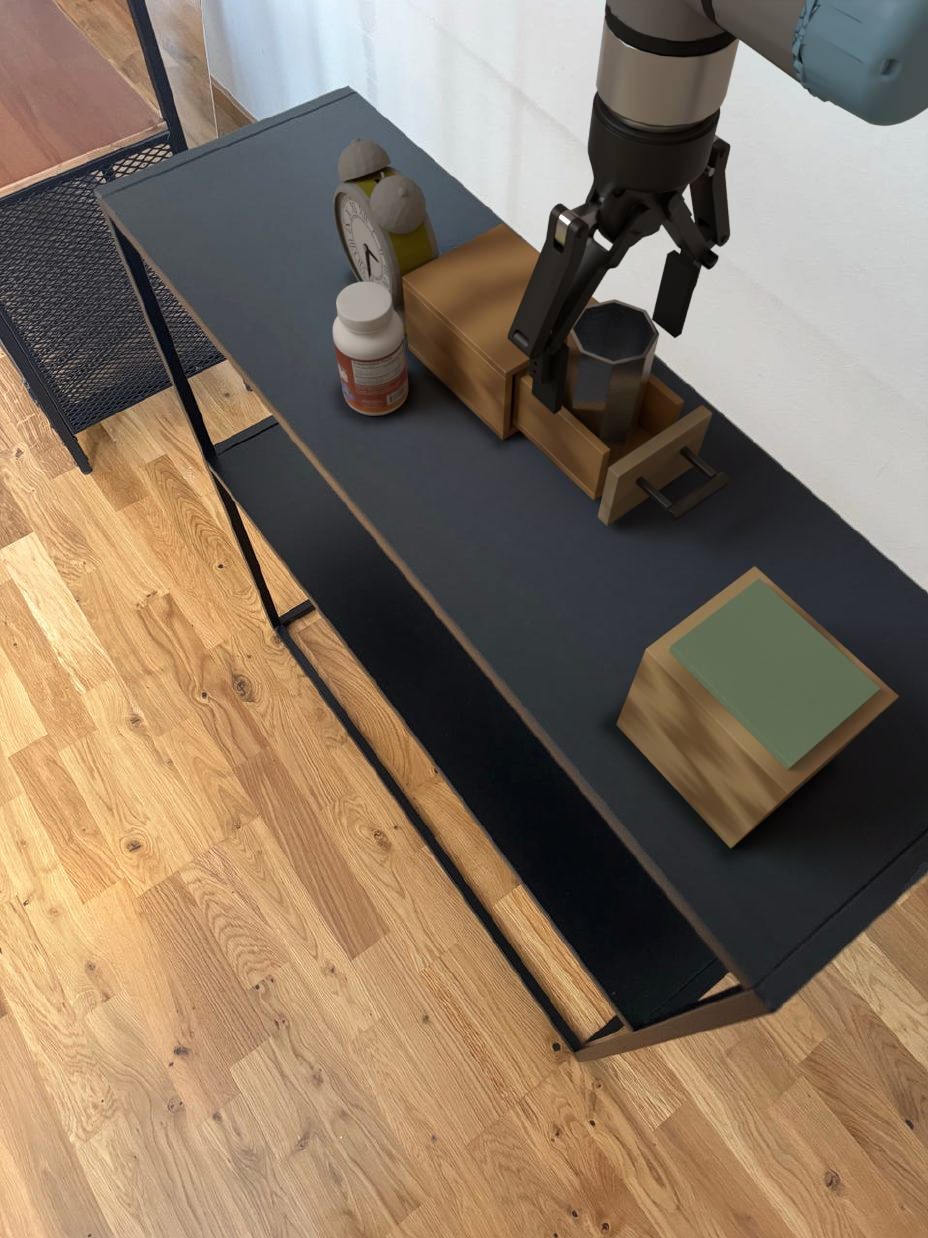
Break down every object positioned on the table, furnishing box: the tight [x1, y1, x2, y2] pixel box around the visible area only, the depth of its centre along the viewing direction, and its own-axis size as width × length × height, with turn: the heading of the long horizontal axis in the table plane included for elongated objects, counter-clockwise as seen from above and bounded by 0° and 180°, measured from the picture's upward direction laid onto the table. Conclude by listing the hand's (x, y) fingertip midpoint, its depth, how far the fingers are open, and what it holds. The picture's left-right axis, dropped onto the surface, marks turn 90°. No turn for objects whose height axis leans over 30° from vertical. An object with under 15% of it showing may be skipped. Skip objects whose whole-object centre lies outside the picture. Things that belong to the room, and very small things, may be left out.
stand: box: [615, 566, 900, 849], centre depth 61 cm, size 12×10×13 cm
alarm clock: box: [332, 137, 440, 335], centre depth 83 cm, size 12×7×15 cm, turn 33°
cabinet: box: [402, 222, 600, 441], centre depth 81 cm, size 15×12×9 cm
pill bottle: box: [332, 281, 409, 417], centre depth 78 cm, size 6×6×11 cm
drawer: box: [513, 343, 730, 527], centre depth 75 cm, size 18×10×7 cm, turn 38°
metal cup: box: [562, 298, 660, 461], centre depth 73 cm, size 6×6×12 cm
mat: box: [669, 578, 881, 770], centre depth 55 cm, size 10×8×1 cm
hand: (607, 363), depth 71 cm, fingers open, 12 cm apart
